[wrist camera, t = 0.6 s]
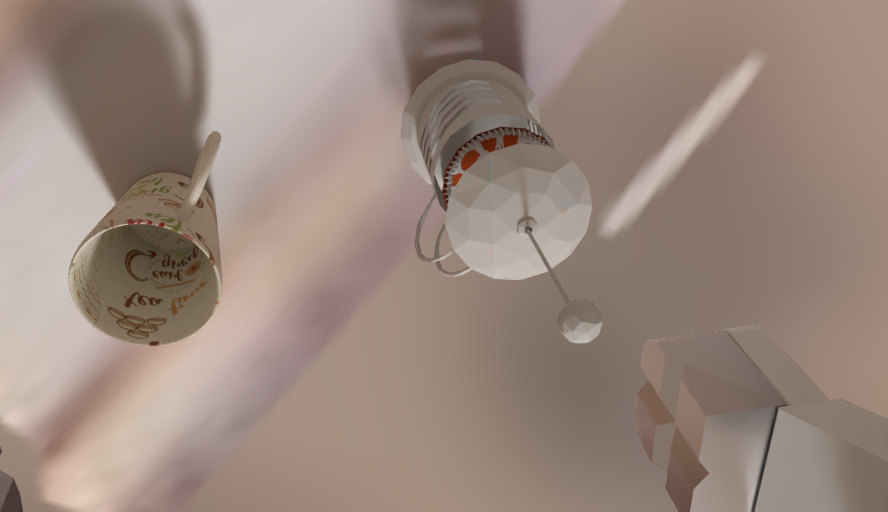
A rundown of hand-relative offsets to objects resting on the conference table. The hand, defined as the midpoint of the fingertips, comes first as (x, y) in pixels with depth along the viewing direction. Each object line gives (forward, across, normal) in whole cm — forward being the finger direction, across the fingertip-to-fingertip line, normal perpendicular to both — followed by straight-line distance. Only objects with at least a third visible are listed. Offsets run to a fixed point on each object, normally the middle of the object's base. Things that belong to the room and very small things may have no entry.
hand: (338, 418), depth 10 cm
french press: (+43, -9, +13) cm, 46 cm away
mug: (+43, +10, +15) cm, 46 cm away
